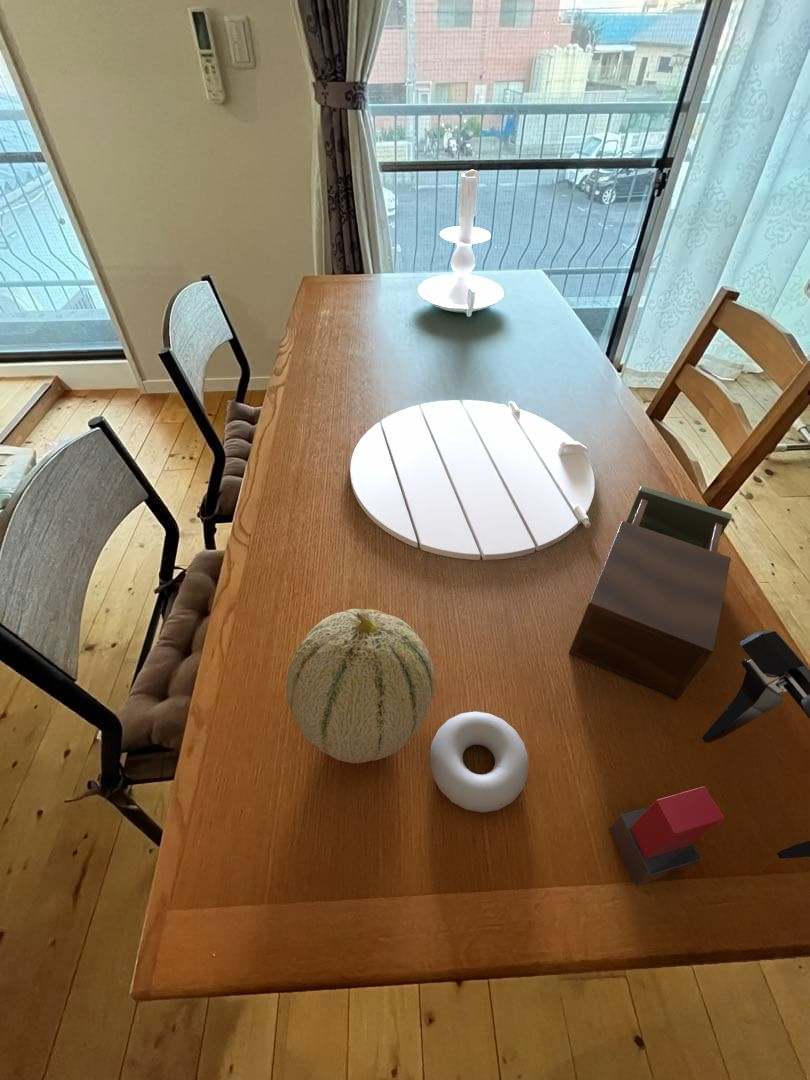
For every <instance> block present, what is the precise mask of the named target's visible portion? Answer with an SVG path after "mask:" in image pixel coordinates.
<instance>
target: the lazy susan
mask: <svg viewBox="0 0 810 1080" xmlns="http://www.w3.org/2000/svg"><path fill="white" fill-rule="evenodd" d="M507 404H508V405H506V404H502V403H497V402H491V401H486V400H485V401H484V400H475V399H461V400H460V399H448V400H447V399H446V400H437V401H430V402H424V403H420V404H417V405H413V406H410V407H407V408H404V409H401V410H397V411H396V412H393V413H392V414H390V415H388V416H386V417H384V418H383V419H381V421H378V422H377V423H375V424H374V425H373V426H372V427H370V429H368V430H367V431H365V434H363V436H362V437H360V440H359V441H358V442H357V444H356V446H355V448H354V450H353V453H352V455H351V459H350V465H349V470H350V471H349V473H350V474H349V475H350V483H351V488H352V491H353V495H354V497H355V500H356V501H357V503H358V505H359V506H360V508H361V509H362V511H363V513H365V515H366V516H367V517H368V518H369V519H370V520H371V521H372V522H373V523H374V524H375V525H377V526H378V527H379V528H380V529H381V530H383V531H384V532H386V533H388V534H389V535H390V536H392V537H393V538H395V539H397V540H399V541H401V542H402V543H404V544H407V545H409V546H411V547H413V548H415V549H418V545H419V548H420V550H422V551H425V552H427V553H430V554H434V555H439V556H443V557H448V558H454V559H461V560H469V561H470V560H471V561H473V560H474V561H480V560H481V559H482V561H494V560H505V559H512V558H519V557H523V556H527V555H531V554H534V553H535V552H540V551H542V550H545V549H547V548H549V547H551V546H554V545H555V544H557V543H559V542H560V541H562V540H564V539H565V538H567V536H569V535H570V534H571V533H573V532H574V531H575V530H577V527H578V526H580V524H583V527H585V528H586V529H588V528H590V527H591V523H590V518H589V516H588V515H587V514H588V512H589V510H590V508H591V505H592V502H593V499H594V496H595V489H596V488H595V486H596V483H595V481H596V480H595V474H594V471H593V470H594V469H593V468H592V464H591V462H590V460H589V458H588V457H587V455H586V454H587V453H590V452H589V449H588V447H586V445H585V444H583V443H581V442H580V441H575V440H574V439H573V438H572V437H571V436H570V435H569V434H567V433H566V432H565V431H563V430H562V429H561V428H560V427H558V426H557V425H555V424H553V423H552V422H550V421H549V420H547V419H545V418H543V417H540V416H538V415H536V414H534V413H531V412H529V411H527V410H524V409H522V408H521V409H520V408H519V407H518V406H517V404H516V402H515V401H513V400H509V401H508V402H507Z"/></svg>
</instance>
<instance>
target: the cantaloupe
mask: <svg viewBox="0 0 810 1080" xmlns="http://www.w3.org/2000/svg"><path fill="white" fill-rule="evenodd" d="M285 690H286V696H287V698H286V699H287V703H288V708H289V711H290V713H291V716H292V717H293V719H294V723H295V725H296V727H297V729H298V730H299V732H300V733H301V734H302V735H303V737H304V738H305V740H306V741H307V742H309V743H310V744H311V745H312V746H313V747H317V748H318V750H320V752H322V753H324V754H327V755H328V756H330V757H332V758H333V759H335V760H337V761H340V762H344V763H348V764H361V763H363V764H364V763H368V762H371V761H378V760H382V759H385V758H388V757H389V756H391V755H393V754H395V753H396V752H398V751H399V750H400V749H401V748H403V747H404V746H405V744H406V743H407V742H409V741H410V740H411V739H412V738H413V737H414V736H415V735H416V734H417V733H418V731H419V730H420V728H421V727H422V725H423V723H424V722H425V721H426V718H427V716H428V713H429V710H430V707H431V702H432V700H433V696H434V690H435V668H434V665H433V661H432V659H431V655H430V652H429V651H428V648H427V646H426V644H425V643H424V641H423V640H422V639H421V638H420V637H419V635H418V634H417V633H416V632H415V630H414V629H413V628H412V627H411V626H410V625H409V624H408V623H406V622H405V621H403V620H402V619H401V618H399V617H397V616H394V615H391V614H388V613H385V612H383V611H381V610H377V609H371V608H351V609H346V610H343V611H339V612H336V613H333V614H331V615H328V616H327V617H325V618H323V619H322V620H320V622H318V623H317V624H316V625H315V626H314V627H312V629H311V630H310V631H308V633H307V635H306V636H305V637H304V639H303V640H302V642H301V643H300V644H299V645H298V646H297V648H296V650H295V652H294V653H293V657H292V659H291V660H290V664H289V667H288V671H287V675H286V684H285Z"/></svg>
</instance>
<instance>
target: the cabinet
mask: <svg viewBox="0 0 810 1080" xmlns="http://www.w3.org/2000/svg"><path fill="white" fill-rule="evenodd" d="M731 559H732V557H731V556H728V555H725V554H722V553H719V552H717V553H716V552H713V551H710V550H707V549H704V548H701V547H699V546H696V545H693V544H690V543H687V542H684V541H681V540H678V539H675V538H672V537H669V536H666V535H663V534H660V533H657V532H654V531H651V530H648V529H646V528H643V527H640V526H637V525H634V524H631V523H628V522H626V521H625V520H621V521H620V524H619V527H618V529H617V532H616V534H615V537H614V539H613V541H612V544H611V547H610V548H609V551H608V554H607V557H606V559H605V561H604V564H603V566H602V569H601V571H600V573H599V576H598V579H597V581H596V584H595V586H594V588H593V590H592V591H593V592H592V594H591V596H590V598H589V601H588V604H587V606H586V608H585V612H584V613H583V616H582V619H581V621H580V623H579V626H578V629H577V630H576V633H575V636H574V638H573V641H572V643H571V646H570V649H569V651H568V655H570V656H572V657H575V658H577V659H579V660H582V661H584V662H586V663H589V664H591V665H593V666H595V667H598V668H599V669H603V670H605V671H607V672H609V673H612V674H614V675H617V676H619V677H621V678H624V679H626V680H628V681H630V682H633V683H636V684H637V685H640V686H642V687H644V688H646V689H649V690H651V691H654V692H656V693H658V694H660V695H663V696H665V697H667V698H670V699H672V700H674V701H678V699H679V698H680V697H681V696H682V695H683V693H684V692H685V691H686V689H687V688H688V686H690V684H691V682H692V681H693V680H694V679H695V677H696V676H697V674H698V673H699V672H700V670H701V669H702V668H703V666H704V665H705V663H706V662H707V661H708V660H709V658H710V657H711V655H712V654H713V653H714V649H715V645H716V639H717V634H718V629H719V624H720V618H721V614H722V608H723V603H724V597H725V592H726V586H727V581H728V575H729V570H730V565H731Z"/></svg>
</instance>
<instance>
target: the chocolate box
mask: <svg viewBox="0 0 810 1080" xmlns="http://www.w3.org/2000/svg"><path fill="white" fill-rule="evenodd" d="M649 806H650V808H649V809H648V810H647V811H646V812H645V813H644V814H643V815H642V816H641V817H640V818H639V819H638V820H637V821H636V822H635V823H634V824H633V825H632V827H631V830H632V832H633V834H634V836H635V838H636V840H637V842H638V844H639V846H640V848H641V850H642V852H643V854H644V856H645V858H646V859H648V858H651V857H654V856H657V855H660V854H664V853H667V852H670V851H673V850H677V849H680V848H683V847H686V846H690V845H692V844H694V843H695V842H697V841H699V839H701V838H702V837H704V835H706V834H708V832H710V831H711V830H712V829H713V828H715V827H716V826H718V825H719V824H720V823H722V821H723V820H725V817H724V815H723V813H722V812H721V810H720V808H719V807H718V805H717V804H716V802H715V801H714V799H713V797H712V796H711V794H710V792H709V790H708V789H707V787H706V786H700V787H697V788H693V789H689V790H687V791H683V792H680V793H676V794H673V795H669V796H666V797H662V798H658V799H656V800H654V802H653V803H652V804H651V805H649Z"/></svg>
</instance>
